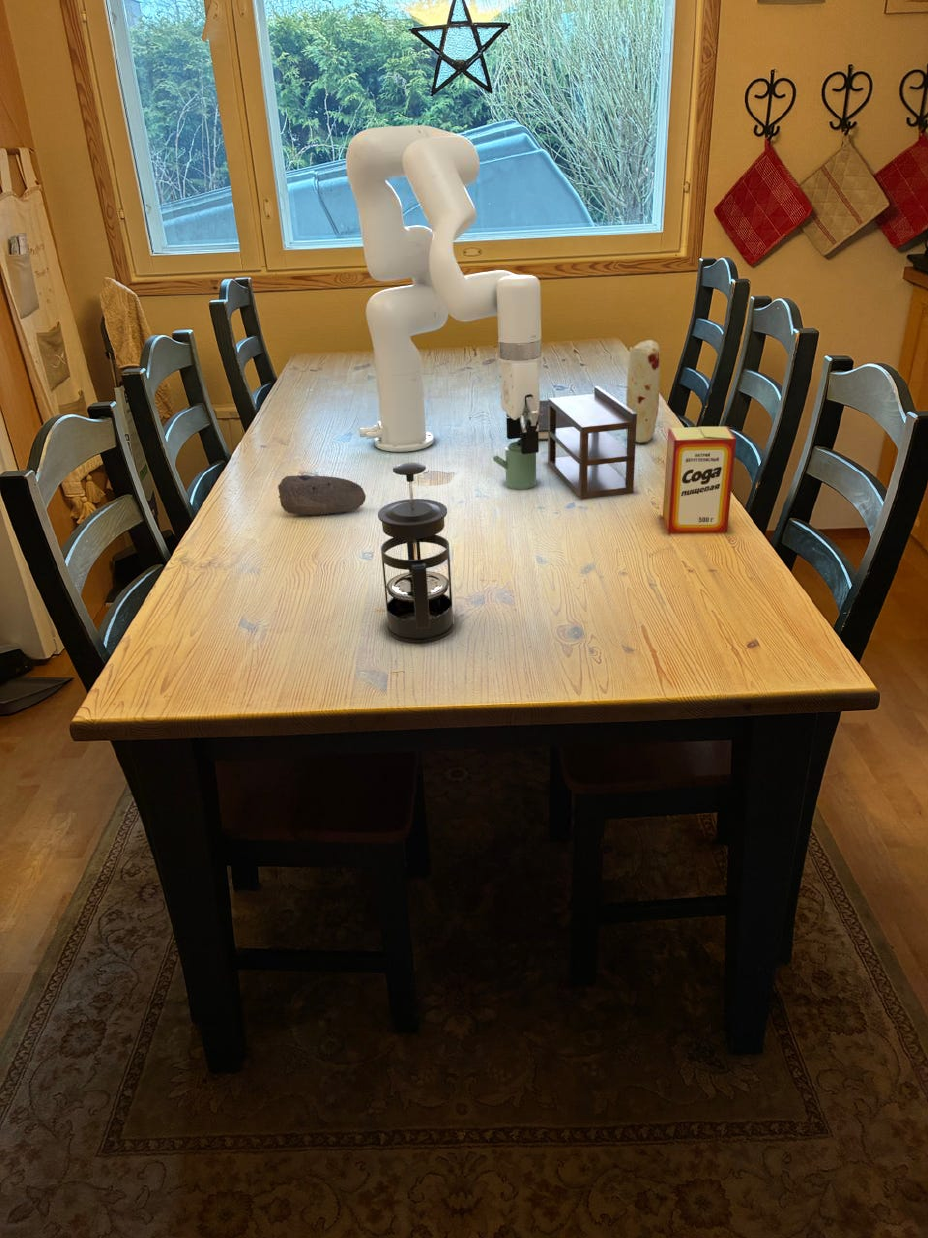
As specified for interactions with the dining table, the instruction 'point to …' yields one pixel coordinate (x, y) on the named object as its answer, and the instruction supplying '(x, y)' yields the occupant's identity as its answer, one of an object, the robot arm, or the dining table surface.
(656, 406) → the food model
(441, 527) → the french press
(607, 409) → the stand
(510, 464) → the kettle
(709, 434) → the baking soda box
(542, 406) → the hardcover book
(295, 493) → the perforated stone tool
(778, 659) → the dining table surface
